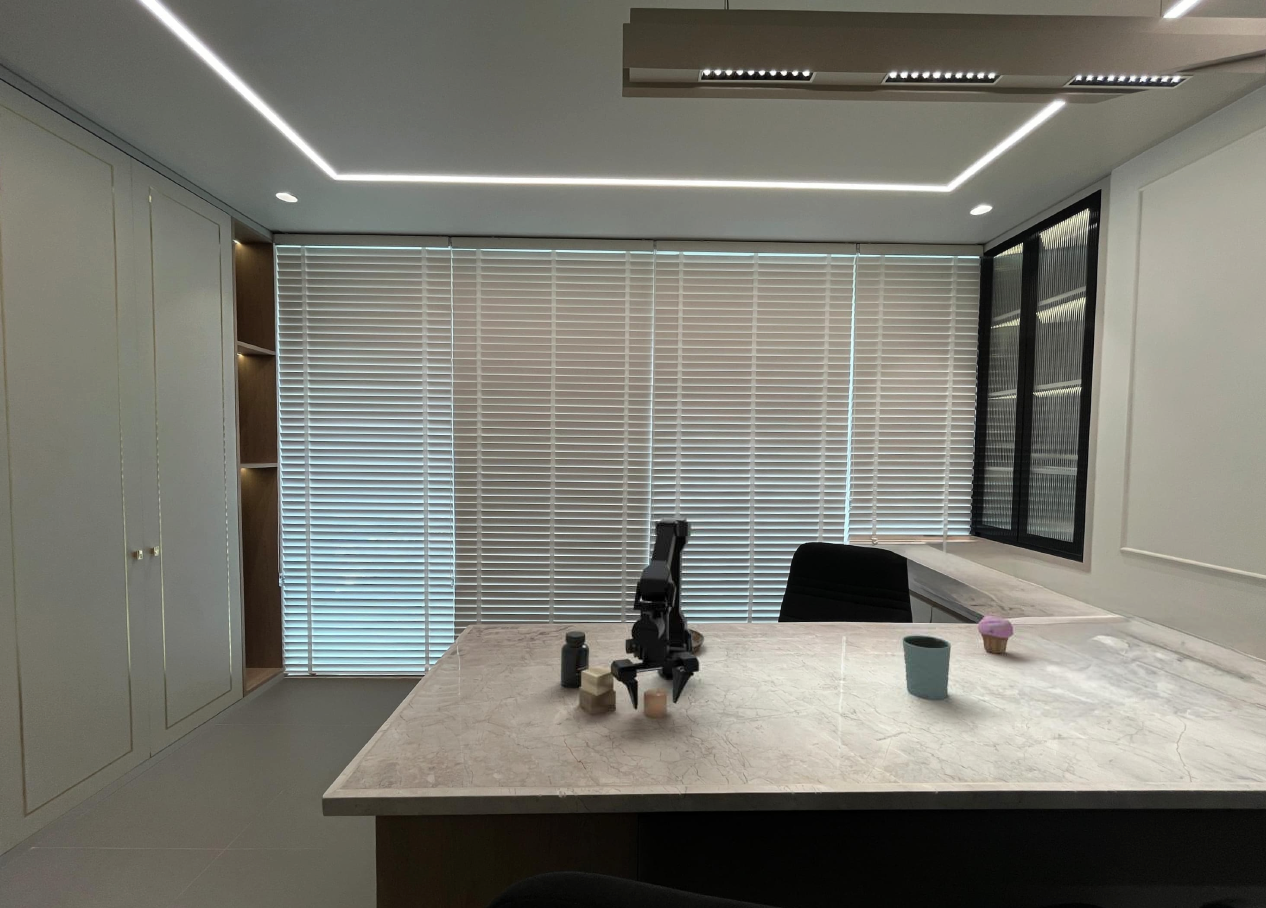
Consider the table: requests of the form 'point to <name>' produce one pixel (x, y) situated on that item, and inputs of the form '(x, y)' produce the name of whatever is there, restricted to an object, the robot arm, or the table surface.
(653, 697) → the peach cylinder
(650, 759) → the table surface
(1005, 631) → the cupcake
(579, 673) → the supplement bottle
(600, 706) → the walnut block
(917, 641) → the teal cup
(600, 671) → the oak block
